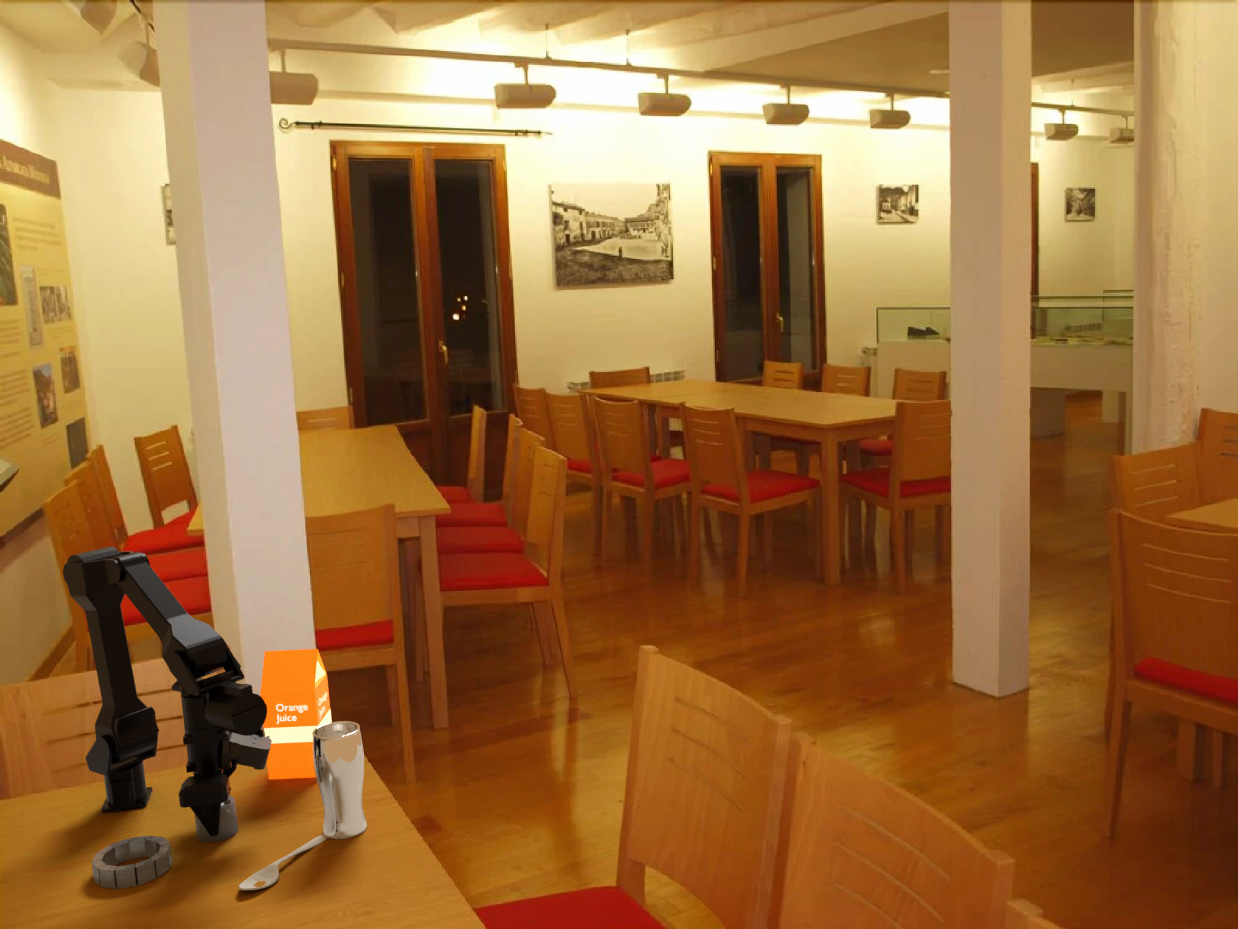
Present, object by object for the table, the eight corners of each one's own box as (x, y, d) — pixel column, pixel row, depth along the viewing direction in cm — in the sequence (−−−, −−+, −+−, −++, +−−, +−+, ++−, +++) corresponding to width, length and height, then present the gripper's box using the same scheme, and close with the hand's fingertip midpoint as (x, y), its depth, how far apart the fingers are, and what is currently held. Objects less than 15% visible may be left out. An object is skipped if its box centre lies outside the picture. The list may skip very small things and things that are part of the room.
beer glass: (357, 842, 161) (348, 739, 159) (311, 840, 163) (301, 738, 161) (377, 819, 168) (369, 721, 166) (333, 817, 170) (324, 719, 167)
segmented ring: (103, 859, 160) (100, 842, 160) (176, 848, 162) (174, 831, 162) (87, 893, 151) (85, 875, 151) (165, 881, 153) (163, 863, 153)
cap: (199, 827, 169) (196, 795, 168) (239, 821, 170) (236, 789, 169) (194, 844, 163) (190, 811, 162) (236, 838, 164) (232, 805, 164)
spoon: (229, 897, 149) (228, 886, 149) (326, 826, 168) (325, 816, 167) (255, 902, 147) (254, 890, 147) (350, 830, 166) (349, 819, 166)
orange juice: (323, 777, 184) (311, 656, 181) (267, 780, 184) (255, 659, 181) (335, 757, 192) (324, 641, 189) (282, 760, 192) (270, 643, 189)
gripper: (259, 739, 157) (270, 847, 159) (269, 694, 175) (279, 792, 177) (172, 750, 154) (185, 859, 157) (191, 703, 172) (202, 802, 175)
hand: (216, 826), depth 166 cm, fingers closed on cap, 6 cm apart
